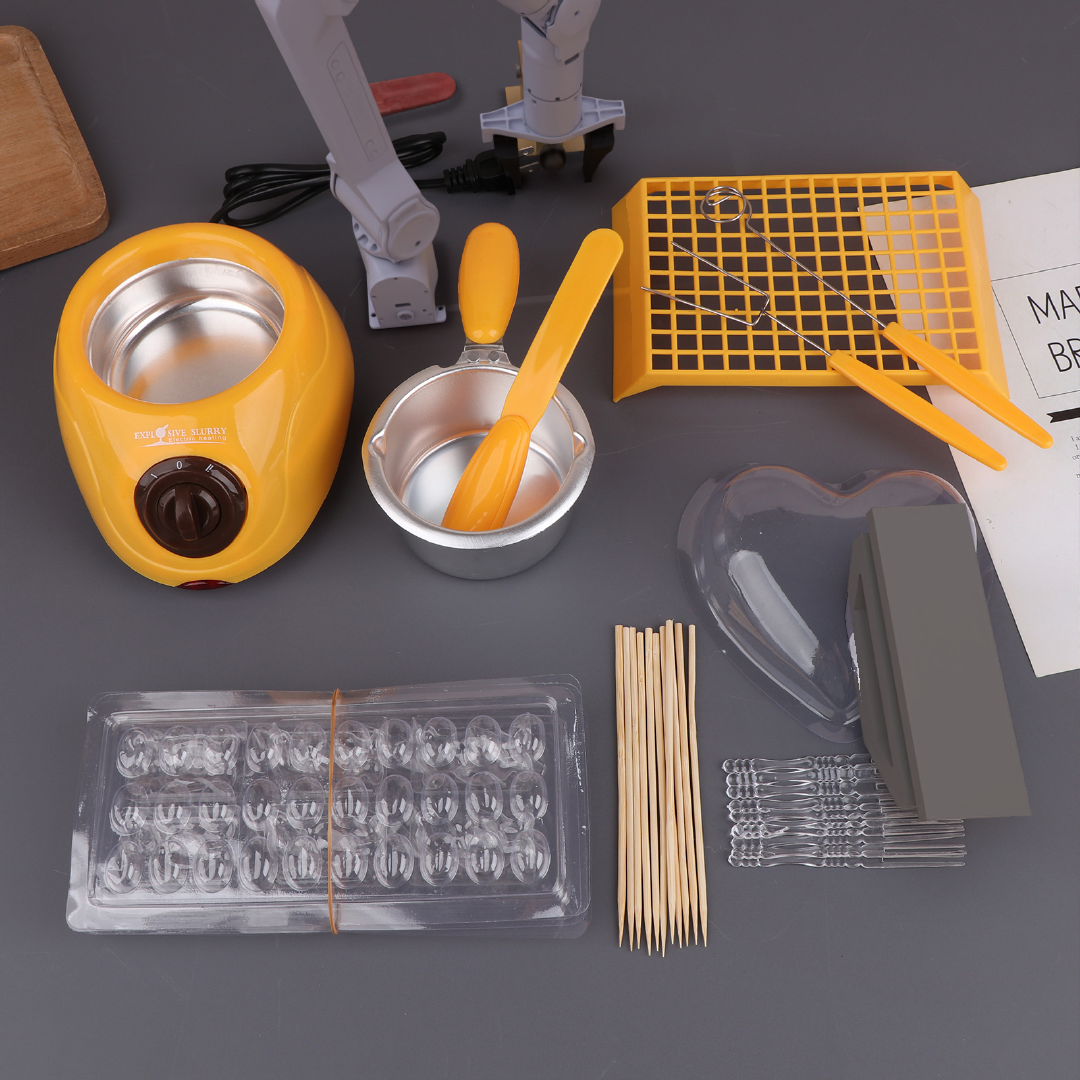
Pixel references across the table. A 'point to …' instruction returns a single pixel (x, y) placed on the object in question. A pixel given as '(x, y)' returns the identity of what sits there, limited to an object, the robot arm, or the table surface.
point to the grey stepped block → (931, 667)
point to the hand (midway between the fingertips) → (552, 179)
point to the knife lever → (552, 157)
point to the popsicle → (412, 92)
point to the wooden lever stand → (517, 95)
